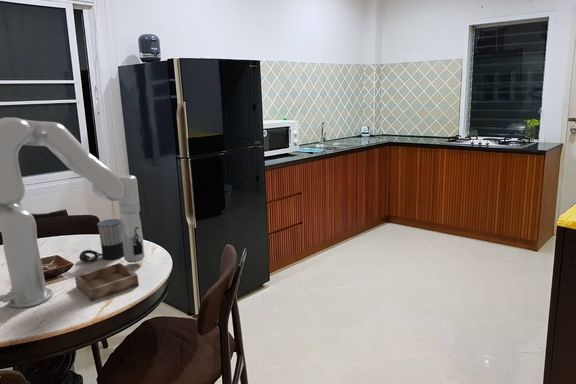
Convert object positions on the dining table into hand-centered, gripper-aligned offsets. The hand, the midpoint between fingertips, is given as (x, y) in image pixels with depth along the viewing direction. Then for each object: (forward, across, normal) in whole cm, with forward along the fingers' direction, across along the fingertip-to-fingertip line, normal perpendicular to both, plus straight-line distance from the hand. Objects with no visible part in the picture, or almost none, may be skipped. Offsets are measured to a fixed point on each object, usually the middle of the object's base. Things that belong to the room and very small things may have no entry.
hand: (134, 251), depth 173 cm
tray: (+6, +12, -15) cm, 20 cm away
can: (+4, 0, 0) cm, 4 cm away
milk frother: (+6, -17, -6) cm, 19 cm away
